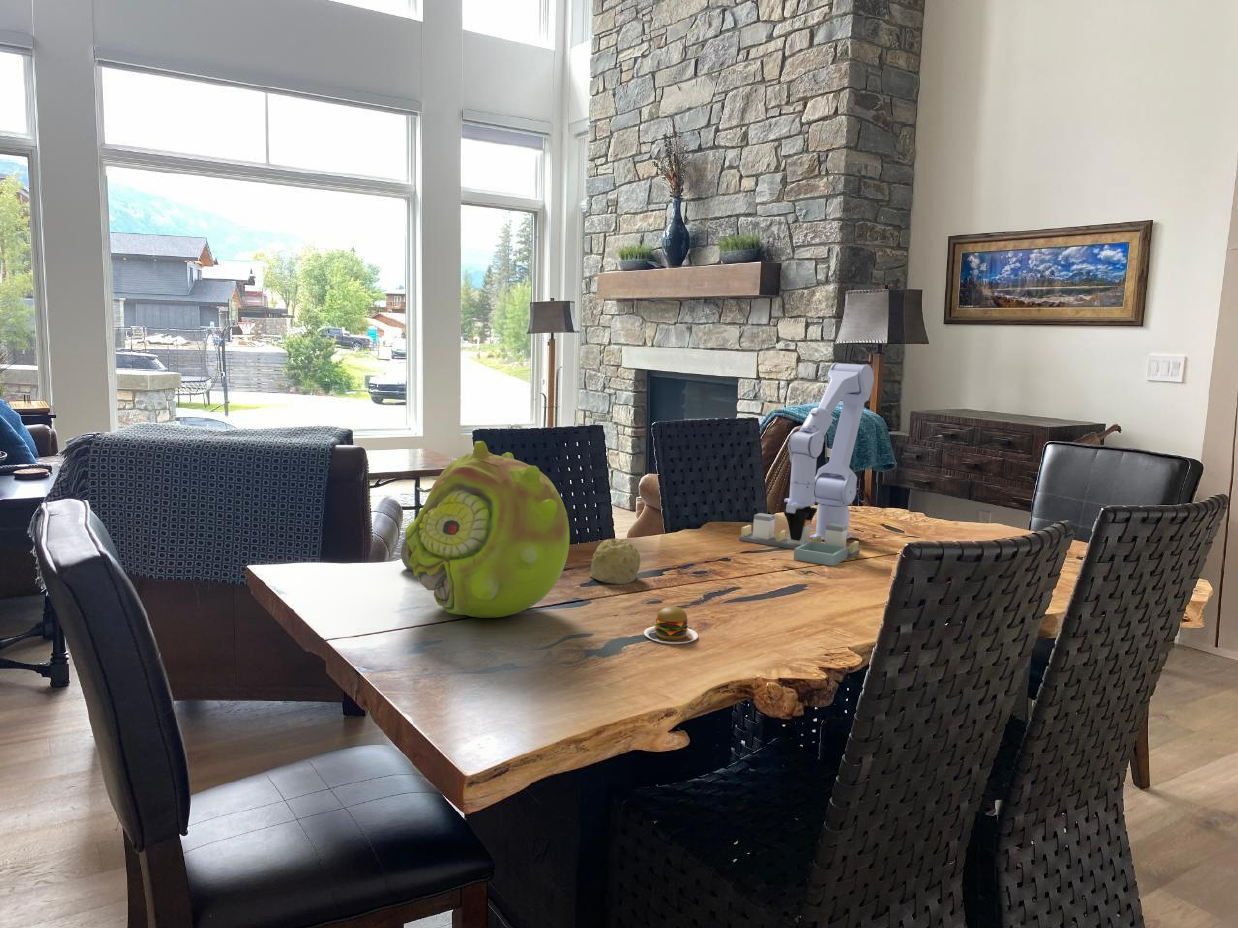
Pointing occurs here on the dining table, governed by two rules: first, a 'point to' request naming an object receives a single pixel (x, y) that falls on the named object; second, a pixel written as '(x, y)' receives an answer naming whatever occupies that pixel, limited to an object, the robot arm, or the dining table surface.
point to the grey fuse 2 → (836, 534)
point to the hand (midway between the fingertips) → (798, 538)
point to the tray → (820, 553)
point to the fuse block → (782, 541)
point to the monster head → (489, 536)
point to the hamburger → (671, 625)
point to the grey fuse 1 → (763, 526)
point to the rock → (615, 562)
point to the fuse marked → (804, 536)
